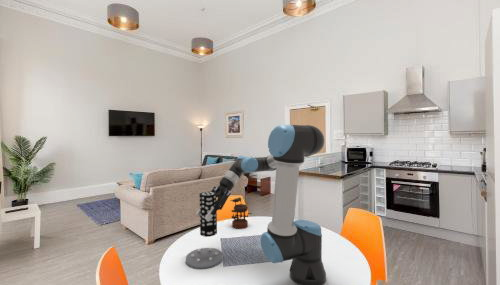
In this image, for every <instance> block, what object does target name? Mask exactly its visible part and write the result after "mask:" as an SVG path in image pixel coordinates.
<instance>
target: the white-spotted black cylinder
mask: <svg viewBox="0 0 500 285" xmlns="http://www.w3.org/2000/svg"><path fill="white" fill-rule="evenodd" d="M216 201H217V197H216V192H211V191H204V192H200V193H199V209H200V217H199V233H200V235H199V236H202V237H205V238H207V237H213V236H215V235H217V234H218V213H217V212H218V210H217V211H216V213H215V214H214V215H213V217H212V218H211V219H210V221H207V220H206V219H205V217H206V216H207V214H208V213H209V211H210V210H211V209H212V207H213V206H214V205H215V204H216ZM214 208H215V207H214Z"/></svg>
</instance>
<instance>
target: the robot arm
mask: <svg viewBox="0 0 500 285" xmlns="http://www.w3.org/2000/svg"><path fill="white" fill-rule="evenodd" d="M324 146H325V136H324V134H323V132H322V130H321V129H319V128H318V127H317V126H314V125H310V124H305V125H303V124H279V125H276V126H275V127H274V128H273V129H272V130H271V131H270V133H269V135H268V140H267V147H268V152H269V153H270V154H269V155H267V156H262V157H261V156H259V157H252V156H247V157H245V156H243V155H239V156H238V157H237V158H236V159H235V160H234V162H233V164H232V165H231V166H230V168H228V170H227V171H226V172H225V174H224V175H223V177H222V178H221V179H220V180H219V185H218V186H217V187H216V186H213V188H212V190H210V192H216V204H215V205H214V206H213V207H212V209H211V210H210V211H209V213H208V214H207V216H206V217H205V219H206V220H207V221H210V219H211V218H212V217H213V215H214V214H215V213H216V211H217V212H218V211H219V210H220V211H222V210H223V208H224V207H225V206H224V205H225V204H226V202H227V201H228V199H229V197H230V196H231V194H232V193H231V191H232V190H233V189H234V187H235V185H236V184H237V182H238V181H239V180H240V178H241V177H242V176H243V174H249V173H250V174H251V173H260V172H270V171H271V172H274V171H275V178H274V181H275V182H274V191H273V193H274V194H273V204H272V218H271V221H270V222H268V223H267V228H266V229H267V230H266V231H264V232H263V233H262V234H261V235H260V245H261V249H262V252H263V254H264V256H265V258H266V259H267V260H268V261H269V262H270V263H272V264H278V263H279V264H280V263H283V262H285V261H289V260H292V261H291V264H290V267H289V277H290V279H291V280H292V281H293V282H294V283H296V284H298V285H324V284H325V283H326V280H327V273H326V270H325V267H324V263H323V259H322V254H323V253H322V251H323V250H322V247H323V246H322V241H323V238H322V237H323V235H322V234H323V233H322V227H321V226H320V225H319V224H318V223H316V222H314V221H312V220H311V221H310V220H306V219H296V220H295V215H296V207H297V206H296V203H297V195H298V185H299V184H298V183H299V173H300V166H301V165H303V164H304V163H305V158H308V157H311V156H314V155H316V154H318V153H320V152H321V150H322V149H323V148H324ZM214 207H215V208H214ZM195 214H196V215H197V216H198V217H199V218H200V208H199V209H198V210H197V212H196V213H195Z"/></svg>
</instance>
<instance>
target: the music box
mask: <svg viewBox="0 0 500 285" xmlns="http://www.w3.org/2000/svg"><path fill="white" fill-rule="evenodd" d="M229 201H230V202H232V203H234V205H233V209H231V213H232V215H231V219H232V221H231V222H232V223H231V224H232V228H233V229H235V230H244V229H246V228H248V227H249V222H248V220H247V219H246V218H249V215H253V213H251V212H247V211H248V209H249V208H248V205H246V204H243V203H242V198H241V197H236V198H234V199H231V200H229ZM239 202H240V203H239ZM238 203H239V204H238ZM246 212H247V215H246ZM234 213H235V214H234ZM242 213H243V214H242Z"/></svg>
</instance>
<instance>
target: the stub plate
mask: <svg viewBox="0 0 500 285" xmlns="http://www.w3.org/2000/svg"><path fill="white" fill-rule="evenodd" d="M223 260H224V253H223V251H221V250H220V249H219V248H214V247H202V248H197V249H194V250H193V251H190V252H189V253H187V255H186V256H185V265H187V266H188V267H189V268H191V269H195V270H207V269H211V268H214V267H216V266H218V265H219V264H221V263H222V262H223Z"/></svg>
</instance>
